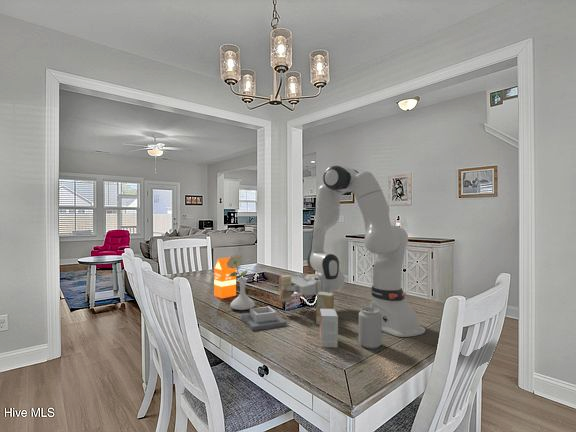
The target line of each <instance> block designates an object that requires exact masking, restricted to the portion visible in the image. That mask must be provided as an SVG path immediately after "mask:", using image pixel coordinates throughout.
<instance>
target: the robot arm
mask: <svg viewBox="0 0 576 432" xmlns="http://www.w3.org/2000/svg"><path fill="white" fill-rule="evenodd" d="M322 180H323V184H321V185H319V187H318V188H317V192H316V198H315V215H314V222H313V226H312V232H311V244H310V249H309V253H308V255H307V260H306V262H307V263H306V264H307V265H308V268H309V269H310V270H311V271H313V272H317V273H312V274H311V273H310V274H309V273H308V274H306V275H305V276H304V277H303V278H302V277H297V276H296V277H295V276H294V277H293V276H291V286H285V290H287V291H289V290H291V292H292V291H294V292H296V293H299V294H301V295H303V296H317V294H318V293H319V292H328V293H333V292H335V291H340V290H342V288H343V287H344V286H345V279H346V278H345V275H344V274H343V273H342V270H341V267H340V260H339V258H338V257H337V256H336V255H335V254H333V253H330V252H329V253H328V252H325V251H324V250H325V249H324V247H325V246H324V245H325V239H326V238H325V237H326V233H327V231H328V230H329V229H331V228H332V227H334V226H335V225H336V224H337V223H338V221H339V219H340V212H341V211H340V208H341V207H340V205H341V203H340V201H341V197H342V196H343V195H344V196H347V195H349V194H352V193H353V195H354V197H355V200H356V202H357V205H358V207H359V210H360V212H361V215H362V218H363V222H364V230H365V236H364V241H363V243H364V246H365V248H366V249H367V251H369V252H370V253H372V254H376V255H377V257H376V260H375V262H374V264H373V266H372V286H371V296H372V298H371V300H370V304H369V307H372V308H376V309H379V310H380V312H379V313H380V314H381V315H382V332H384V333H387V334H390V335H393V336H395V337H399V338H400V337H402V338H408V337H409V338H410V337H415V336H420V335H422V334H425V333H426V328H424V327H423V326H421V325H419V317H418V313H417V312H416V311H415V309H413V308H412V306H411V305H410V304H409V303H408V302H407V300H406V299H405V296H407V292H404V291H403V288H402V270H403V263H404V259H405V253H406V246H407V244H408V243H409V236H408V233H407V231H406V230H405V229H404V228H402V227H399V226H397V225H392V223H391V219H390V207H389V203H388V202H387V199H386V197H385V195H384V193H383V190H382V188H381V186H380V184H379V182H378V180H377V179H376V177H375V175H374V174H373V173H372V172H370V171H365V170H364V171H360V172H359V171H357V170H356V169H353V168H350V167H348V166H342V165H332V166H328V168H327V169H326V170H325V171H324V172H323V176H322Z"/></svg>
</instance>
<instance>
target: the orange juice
mask: <svg viewBox="0 0 576 432" xmlns="http://www.w3.org/2000/svg"><path fill="white" fill-rule="evenodd" d="M231 257H232V256H230V257H222V258H217V261H216V264H215V266H214V268H213V272H214V273H213V275H214V280H213V284H214V285H213V288H214V289H213V291H214V292H213V295H214V297H217V298H220V299H225V298H230V297H235V296H236V295H237V275H236V276H234V277H232V276H229V275H230V274H231V273H233V272H237V267H236V268H234V269H231V268H229V267H227V266H228V265H227V262H228V259H230V258H231Z"/></svg>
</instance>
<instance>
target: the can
mask: <svg viewBox="0 0 576 432" xmlns="http://www.w3.org/2000/svg"><path fill="white" fill-rule="evenodd" d="M379 312H380V310H379V309H376V308H372V307H370V306H368V307H366V306H365V307H361V308H360V311H358V343H359V344H360V345H361V346H362V347H363V348H366V349H371V350H373V349H378V348H379V347H380V346H381V345H382V332H383V331H382V315H381V314H380V313H379Z"/></svg>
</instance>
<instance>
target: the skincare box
mask: <svg viewBox="0 0 576 432" xmlns="http://www.w3.org/2000/svg"><path fill="white" fill-rule="evenodd" d="M334 304H335V293H333V292H319V293H318V294H317V295H316V318H315V319H316V320H315V324H316V325H319V326H320V309H335V305H334Z"/></svg>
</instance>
